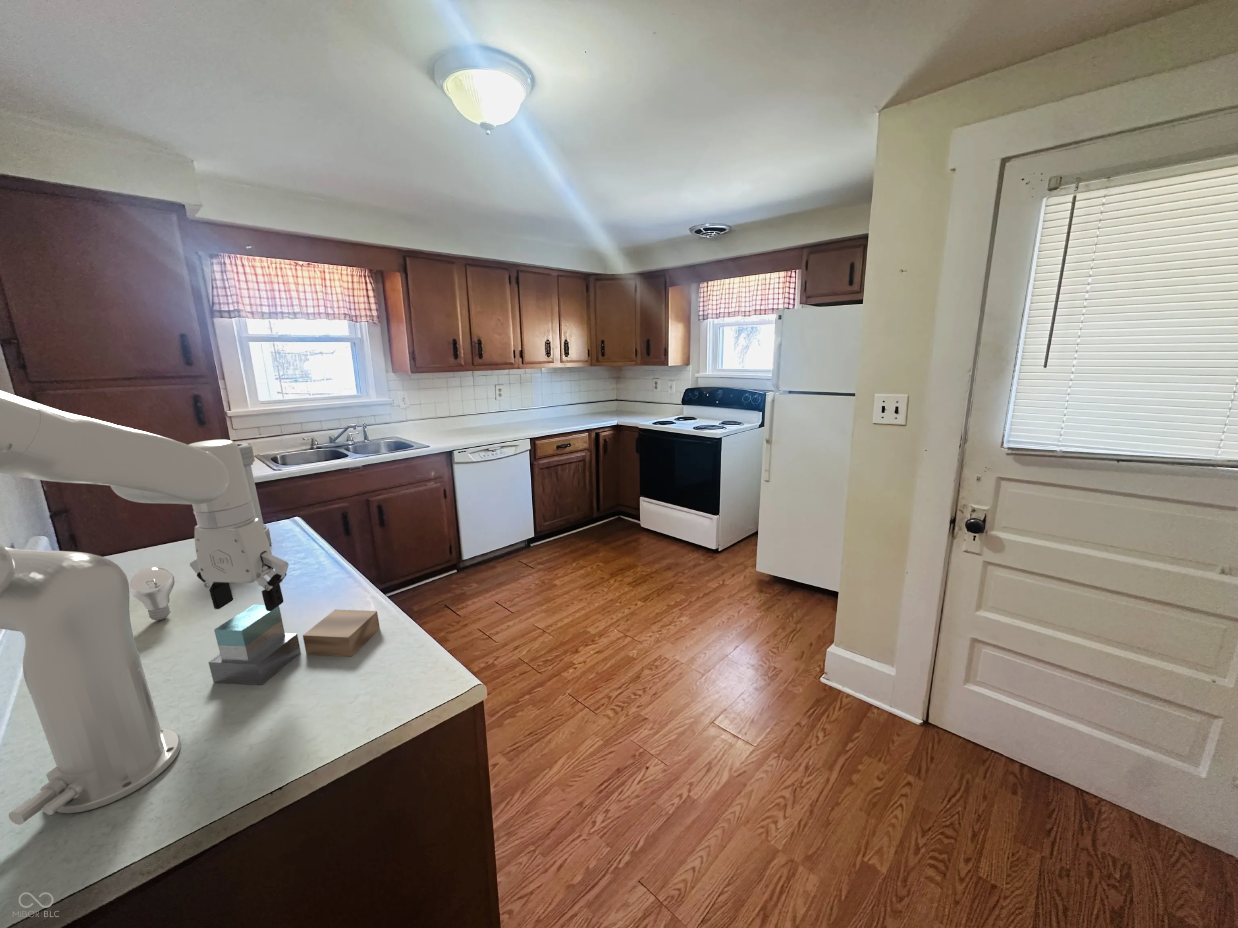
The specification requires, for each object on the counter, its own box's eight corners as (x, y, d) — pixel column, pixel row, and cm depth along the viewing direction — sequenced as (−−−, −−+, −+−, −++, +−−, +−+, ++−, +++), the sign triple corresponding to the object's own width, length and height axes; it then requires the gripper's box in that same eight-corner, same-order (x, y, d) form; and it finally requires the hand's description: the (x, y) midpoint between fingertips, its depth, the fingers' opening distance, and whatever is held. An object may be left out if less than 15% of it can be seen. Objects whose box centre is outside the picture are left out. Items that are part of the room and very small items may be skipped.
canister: (229, 558, 132) (205, 451, 125) (228, 547, 140) (205, 446, 133) (273, 547, 139) (252, 446, 132) (270, 537, 146) (250, 441, 139)
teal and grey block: (248, 662, 81) (241, 630, 80) (221, 660, 82) (214, 629, 80) (285, 634, 89) (279, 605, 88) (260, 633, 90) (253, 604, 88)
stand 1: (261, 684, 82) (257, 664, 81) (213, 682, 83) (208, 662, 82) (300, 652, 90) (297, 633, 89) (256, 650, 91) (252, 631, 90)
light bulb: (152, 631, 98) (137, 577, 95) (131, 625, 100) (115, 573, 97) (191, 613, 104) (178, 562, 102) (170, 608, 107) (157, 558, 104)
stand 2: (351, 656, 89) (348, 637, 88) (306, 654, 90) (302, 635, 89) (379, 628, 98) (377, 610, 97) (338, 626, 98) (335, 609, 97)
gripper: (156, 522, 77) (184, 616, 82) (255, 524, 75) (278, 620, 80) (199, 506, 84) (223, 593, 89) (291, 507, 83) (310, 596, 87)
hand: (249, 605), depth 84 cm, fingers open, 9 cm apart
